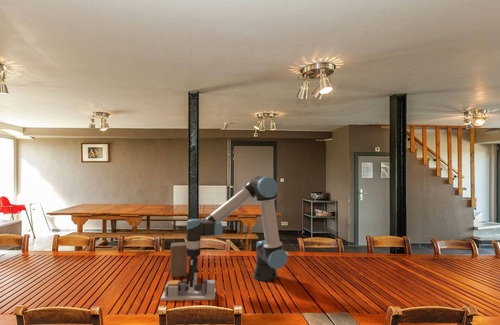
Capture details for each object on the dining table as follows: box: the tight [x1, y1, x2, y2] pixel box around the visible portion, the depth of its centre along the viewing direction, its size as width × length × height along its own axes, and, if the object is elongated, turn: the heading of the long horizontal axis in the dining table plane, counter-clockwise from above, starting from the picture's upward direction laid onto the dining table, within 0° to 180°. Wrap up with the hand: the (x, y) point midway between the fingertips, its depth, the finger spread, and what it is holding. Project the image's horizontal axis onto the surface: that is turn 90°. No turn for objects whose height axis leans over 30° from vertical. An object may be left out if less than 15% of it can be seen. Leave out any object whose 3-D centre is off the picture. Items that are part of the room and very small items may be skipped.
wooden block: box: [170, 241, 188, 278], centre depth 199 cm, size 10×10×20 cm
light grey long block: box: [160, 279, 217, 301], centre depth 167 cm, size 28×12×7 cm, turn 92°
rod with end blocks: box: [167, 279, 216, 295], centre depth 167 cm, size 24×5×6 cm, turn 92°
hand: (193, 288), depth 167 cm, fingers open, 11 cm apart
